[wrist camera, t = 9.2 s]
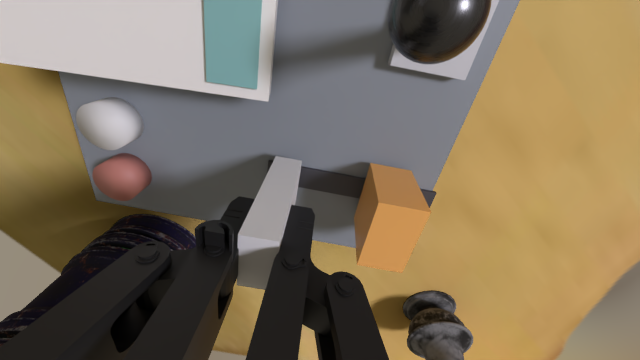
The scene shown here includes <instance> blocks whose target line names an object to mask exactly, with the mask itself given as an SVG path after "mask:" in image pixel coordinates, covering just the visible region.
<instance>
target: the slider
mask: <svg viewBox="0 0 640 360" xmlns="http://www.w3.org/2000/svg"><path fill="white" fill-rule="evenodd" d="M430 214H431V211H430V209H429V206H428V204H427V202H426V200H425V198H424V196H423V194H422V192H421V190H420V188H419V186H418V184H417V181H416V179H415V177H414V175H413V173H412V171H410V170H405V169H400V168H395V167H390V166H384V165H379V164H374V163H370V166H369V170H368V173H367V176H366V179H365V183H364V186H363V189H362V193H361V196H360V199H359V203H358V206H357V209H356V212H355V216H354V225H355V241H356V257H357V265H361V266H366V267H372V268H377V269H383V270H388V271H394V272H399V273H402V272H403V270H404V268H405V266H406V264H407V262H408V260H409V258H410V256H411V254H412V251H413V249H414V247H415V245H416V243H417V241H418V239H419V237H420V235H421V233H422V231H423V229H424V227H425V224H426V222H427V220H428V218H429V216H430Z"/></svg>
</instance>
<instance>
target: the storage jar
mask: <svg viewBox="0 0 640 360" xmlns="http://www.w3.org/2000/svg"><path fill="white" fill-rule="evenodd" d="M149 241H159V242H163V243H165V244H166V245H168V247H169V249H170V251H173V250H185V249H191V248H194V247H196V238H195V236H194V235H193V234H192V233H191V232H189V231H188V230H187V229H185V228H184V227H182V226H181V225H179V224H177V223H175V222H173V221H171V220H169V219H166V218H163V217H160V216H155V215H149V214H135V215H129V216H127V217H124V218H122V219H120V220H119V221H118V222H116V223H115V224H114V225H113V226H112V227H111V228H110V230H108V231H107V232H105V233H104V234H103V235H102V236H99V237H98V238H96V239H95V240H93V242H91V243H90V244H89V245H88V246H87V247H85V248H84V249H83V250H82V251H81V253H79V254H77V255H76V256H74V257H73V258H72V259H71V260H70V261H69V263H68V264H67V265H66V266H65V267H64V268H63V270H62V272H61V276H60V277H59V278H57V279H56V280H55V281H54V282H53V283H52V284H51V285H49V286H48V287H47V288H46V289H45V290H44V291H43V292H42V293H40V294H39V295H38V296H37V297H36V298H35V299H34V300H33V301H32V302H30V303H29V304H28V305H27V306H26V307H25V308H23V309H22V310H21V311H18V312H15V313H13V314H11V315H9V316H8V317H6V318H5V319H4V320H3V321H1V322H0V347H1V346H2V345H3V344H5V343H6V342H7V341H9V340H10V339H11V338H13V337H14V336H15V335H17V334H18V333H19V332H21V331H22V330H23V329H25V328H26V327H27V326H29V325H30V324H31V323H33V322H34V321H35V320H37V319H38V318H39V317H41V316H42V315H43V314H45V313H46V312H47V311H49V310H50V309H51V308H53V307H54V306H55V305H57V304H58V303H60V302H61V301H62V300H64V299H65V298H66V297H68V296H69V295H70V294H72V293H73V292H74V291H76V290H77V289H78V288H80V287H81V286H82V285H84V284H85V283H86V282H88V281H89V280H90V279H92V278H93V277H94V276H96V275H97V274H98V273H100V272H101V271H102V270H104V269H105V268H106V267H108V266H109V265H110V264H112V263H113V262H114V261H116V260H117V259H118V258H120V257H121V256H122V255H124V254H125V253H126V252H128V251H129V250H130V249H132V248H134V247H135V246H137V245H139V244H142V243H145V242H149Z"/></svg>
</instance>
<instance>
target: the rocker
mask: <svg viewBox="0 0 640 360" xmlns="http://www.w3.org/2000/svg"><path fill="white" fill-rule="evenodd" d="M277 8H278V0H0V63H6V64H13V65H20V66H27V67H34V68H41V69H47V70H54V71H61V72H68V73H75V74H82V75H89V76H96V77H102V78H109V79H116V80H123V81H130V82H137V83H144V84H150V85H157V86H164V87H171V88H178V89H185V90H192V91H198V92H205V93H212V94H219V95H226V96H233V97H240V98H247V99H253V100H260V101H267V102H268V101H269V96H270V92H271V82H272V69H273V57H274V45H275V32H276V20H277Z"/></svg>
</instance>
